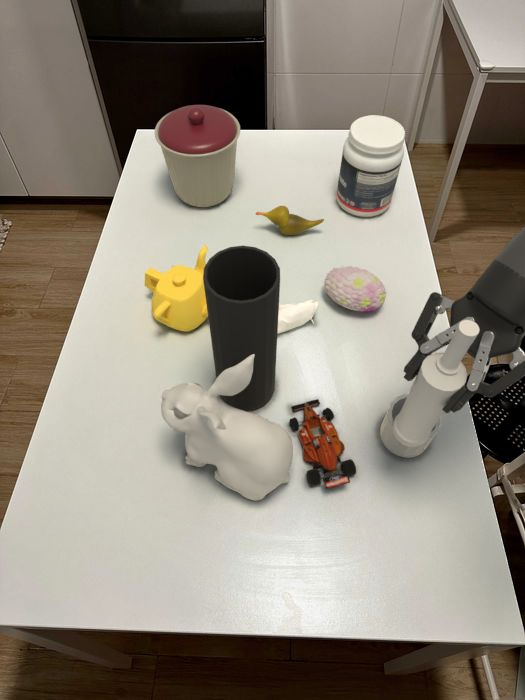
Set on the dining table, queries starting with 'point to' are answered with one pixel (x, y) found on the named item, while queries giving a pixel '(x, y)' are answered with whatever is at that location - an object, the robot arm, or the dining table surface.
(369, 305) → the decorative item
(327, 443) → the toy car
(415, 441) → the bottle
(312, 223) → the olive yellow toy bird
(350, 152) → the supplement tub
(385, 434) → the stand
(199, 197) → the canister
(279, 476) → the rabbit
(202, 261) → the teapot
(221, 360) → the vase
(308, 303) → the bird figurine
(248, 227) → the dining table surface
